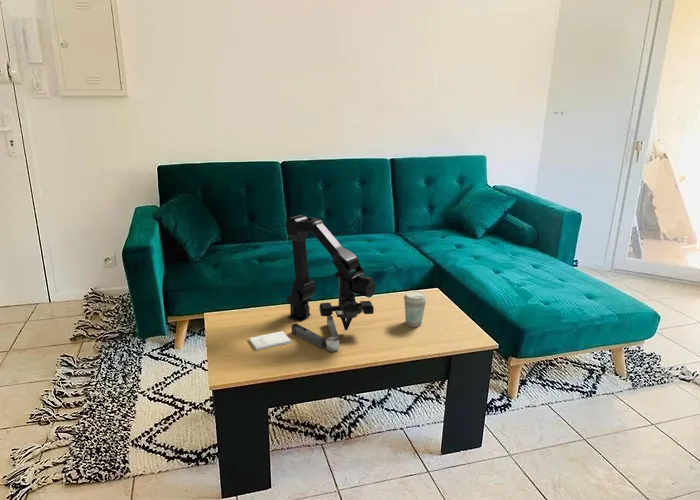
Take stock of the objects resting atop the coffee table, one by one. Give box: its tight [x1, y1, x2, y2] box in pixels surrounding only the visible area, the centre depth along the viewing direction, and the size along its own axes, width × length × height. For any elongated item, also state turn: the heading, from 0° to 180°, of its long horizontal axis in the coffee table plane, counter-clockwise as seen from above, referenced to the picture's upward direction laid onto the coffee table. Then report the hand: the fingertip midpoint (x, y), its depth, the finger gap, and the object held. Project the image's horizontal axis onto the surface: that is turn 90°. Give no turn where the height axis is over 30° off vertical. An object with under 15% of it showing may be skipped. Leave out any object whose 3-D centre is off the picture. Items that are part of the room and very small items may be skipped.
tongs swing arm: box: [325, 315, 340, 352], centre depth 187 cm, size 21×5×3 cm, turn 10°
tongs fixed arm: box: [291, 323, 326, 349], centre depth 185 cm, size 16×2×3 cm, turn 45°
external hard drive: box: [248, 330, 292, 351], centre depth 184 cm, size 2×8×12 cm
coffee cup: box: [403, 290, 428, 328], centre depth 198 cm, size 8×8×12 cm
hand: (345, 330), depth 190 cm, fingers closed
